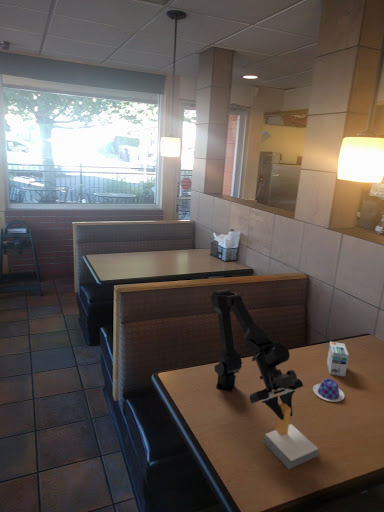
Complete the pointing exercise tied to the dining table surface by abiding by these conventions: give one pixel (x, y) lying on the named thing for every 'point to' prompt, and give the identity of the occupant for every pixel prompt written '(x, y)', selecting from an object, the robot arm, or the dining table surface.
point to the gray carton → (284, 459)
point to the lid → (290, 437)
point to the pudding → (328, 390)
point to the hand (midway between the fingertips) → (286, 417)
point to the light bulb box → (337, 359)
